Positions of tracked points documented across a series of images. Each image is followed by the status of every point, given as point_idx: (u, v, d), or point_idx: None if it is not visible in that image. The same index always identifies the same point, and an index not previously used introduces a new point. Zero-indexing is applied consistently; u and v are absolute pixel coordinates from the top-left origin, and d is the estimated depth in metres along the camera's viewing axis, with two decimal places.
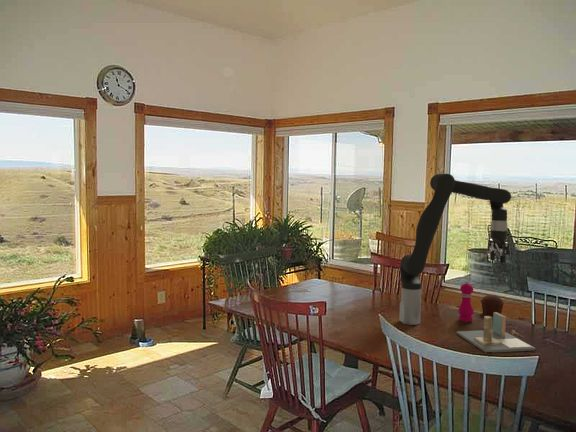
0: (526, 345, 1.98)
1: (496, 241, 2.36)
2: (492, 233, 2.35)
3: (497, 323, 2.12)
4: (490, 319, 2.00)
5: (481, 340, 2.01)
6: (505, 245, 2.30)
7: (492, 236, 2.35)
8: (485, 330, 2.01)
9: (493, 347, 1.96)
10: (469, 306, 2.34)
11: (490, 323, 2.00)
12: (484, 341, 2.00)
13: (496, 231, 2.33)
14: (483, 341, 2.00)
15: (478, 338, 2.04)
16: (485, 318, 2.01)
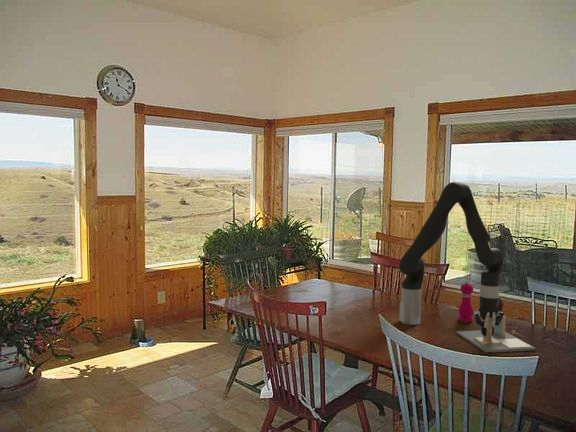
0: (526, 345, 1.98)
1: (490, 310, 2.00)
2: (495, 302, 1.97)
3: None
4: (490, 319, 2.00)
5: (480, 340, 2.02)
6: None
7: (495, 305, 1.97)
8: None
9: (493, 347, 1.96)
10: (469, 306, 2.34)
11: (490, 323, 2.00)
12: (484, 341, 2.00)
13: (498, 298, 1.98)
14: (483, 341, 2.00)
15: (478, 338, 2.04)
16: None
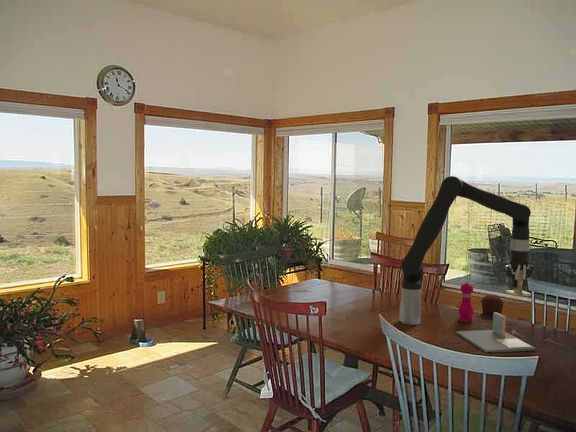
0: (526, 345, 1.98)
1: (521, 263, 2.10)
2: (526, 254, 2.07)
3: (497, 323, 2.12)
4: (521, 272, 2.10)
5: (512, 292, 2.12)
6: None
7: (526, 258, 2.08)
8: None
9: (493, 347, 1.96)
10: (469, 306, 2.34)
11: (521, 275, 2.11)
12: (515, 293, 2.10)
13: (528, 251, 2.08)
14: (514, 293, 2.10)
15: (509, 291, 2.14)
16: None
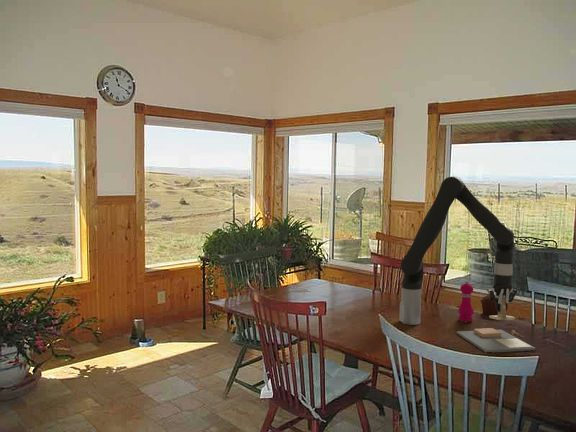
0: (526, 345, 1.98)
1: (504, 287, 2.10)
2: (509, 279, 2.07)
3: None
4: None
5: (496, 316, 2.11)
6: None
7: (509, 282, 2.08)
8: None
9: (493, 347, 1.96)
10: (469, 306, 2.34)
11: (503, 299, 2.11)
12: (499, 317, 2.10)
13: (511, 275, 2.09)
14: (498, 317, 2.10)
15: (493, 316, 2.13)
16: (498, 295, 2.12)
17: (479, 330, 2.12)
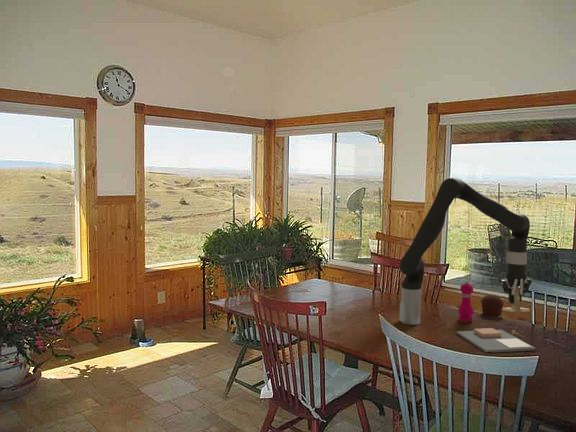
0: (526, 345, 1.98)
1: (518, 276, 1.98)
2: (523, 268, 1.95)
3: None
4: (516, 286, 1.99)
5: (509, 308, 1.98)
6: None
7: (523, 272, 1.95)
8: None
9: (493, 347, 1.96)
10: (469, 306, 2.34)
11: (517, 290, 1.98)
12: (513, 309, 1.97)
13: (526, 265, 1.96)
14: None
15: (506, 308, 2.01)
16: None
17: (479, 330, 2.12)
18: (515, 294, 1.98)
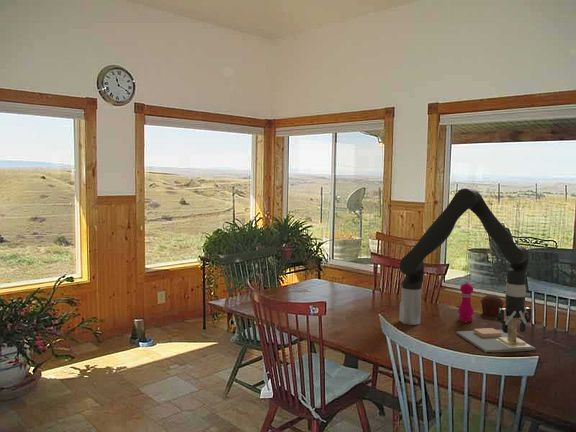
0: (526, 345, 1.98)
1: (516, 308, 1.99)
2: (522, 300, 1.96)
3: None
4: (515, 319, 2.00)
5: (505, 340, 2.01)
6: None
7: (522, 304, 1.96)
8: (510, 330, 2.01)
9: (493, 347, 1.96)
10: (469, 306, 2.34)
11: (515, 323, 2.00)
12: (509, 341, 1.99)
13: (524, 297, 1.97)
14: (508, 341, 1.99)
15: (502, 338, 2.03)
16: None
17: (479, 330, 2.12)
18: (513, 327, 2.00)
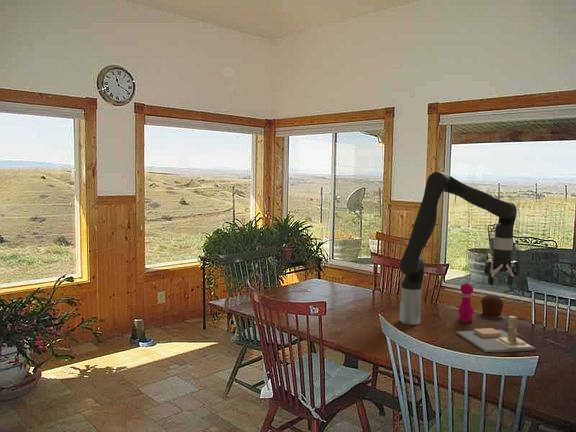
0: (526, 345, 1.98)
1: (503, 262, 2.03)
2: (509, 253, 2.00)
3: None
4: (515, 319, 2.00)
5: (505, 340, 2.01)
6: None
7: (508, 257, 2.01)
8: (510, 330, 2.01)
9: (493, 347, 1.96)
10: (469, 306, 2.34)
11: (515, 323, 2.00)
12: (509, 341, 1.99)
13: None
14: (508, 341, 1.99)
15: (502, 338, 2.03)
16: (510, 318, 2.01)
17: (479, 330, 2.12)
18: (513, 327, 2.00)
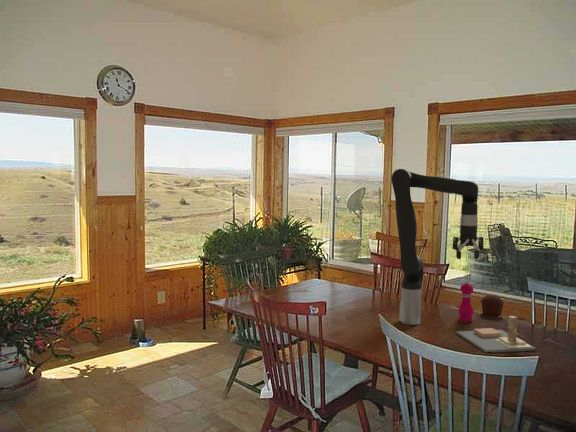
0: (526, 345, 1.98)
1: (470, 237, 2.20)
2: (474, 229, 2.17)
3: None
4: (515, 319, 2.00)
5: (505, 340, 2.01)
6: None
7: (474, 232, 2.17)
8: (510, 330, 2.01)
9: (493, 347, 1.96)
10: (469, 306, 2.34)
11: (515, 323, 2.00)
12: (509, 341, 1.99)
13: (476, 226, 2.18)
14: (508, 341, 1.99)
15: (502, 338, 2.03)
16: (510, 318, 2.01)
17: (479, 330, 2.12)
18: (513, 327, 2.00)
